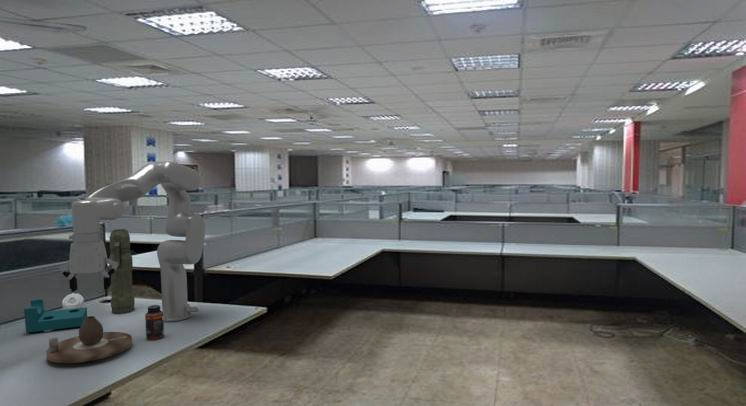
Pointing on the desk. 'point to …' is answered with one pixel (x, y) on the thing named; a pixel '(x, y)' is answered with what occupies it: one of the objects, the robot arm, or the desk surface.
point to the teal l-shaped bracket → (52, 317)
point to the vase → (91, 331)
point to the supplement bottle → (154, 323)
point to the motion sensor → (73, 301)
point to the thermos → (121, 272)
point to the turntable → (87, 348)
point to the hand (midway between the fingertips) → (90, 289)
